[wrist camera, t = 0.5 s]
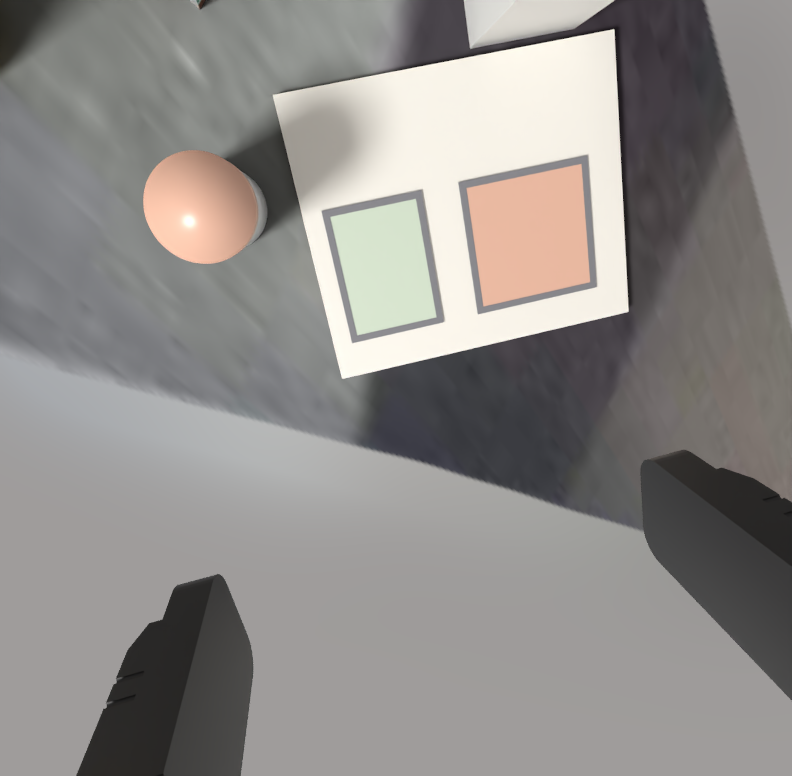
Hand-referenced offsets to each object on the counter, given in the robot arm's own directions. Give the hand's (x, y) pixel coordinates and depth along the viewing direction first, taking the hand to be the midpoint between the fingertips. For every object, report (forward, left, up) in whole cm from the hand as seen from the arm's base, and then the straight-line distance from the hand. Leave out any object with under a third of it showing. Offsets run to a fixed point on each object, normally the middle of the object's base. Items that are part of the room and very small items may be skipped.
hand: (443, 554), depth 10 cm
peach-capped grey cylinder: (-7, -6, -24) cm, 26 cm away
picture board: (-4, +8, -24) cm, 26 cm away
